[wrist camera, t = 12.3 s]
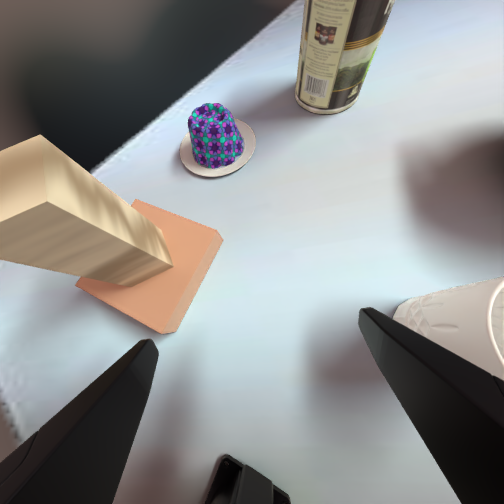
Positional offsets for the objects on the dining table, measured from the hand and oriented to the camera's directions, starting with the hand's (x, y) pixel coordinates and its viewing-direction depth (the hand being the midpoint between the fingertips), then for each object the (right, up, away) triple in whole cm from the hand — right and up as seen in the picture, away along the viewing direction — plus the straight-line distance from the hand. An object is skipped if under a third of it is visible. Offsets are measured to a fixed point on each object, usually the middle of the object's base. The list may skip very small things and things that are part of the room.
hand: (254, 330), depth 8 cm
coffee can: (+12, +30, +23) cm, 40 cm away
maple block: (-12, +3, +13) cm, 18 cm away
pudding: (-5, +20, +22) cm, 30 cm away
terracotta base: (-12, +2, +16) cm, 20 cm away
